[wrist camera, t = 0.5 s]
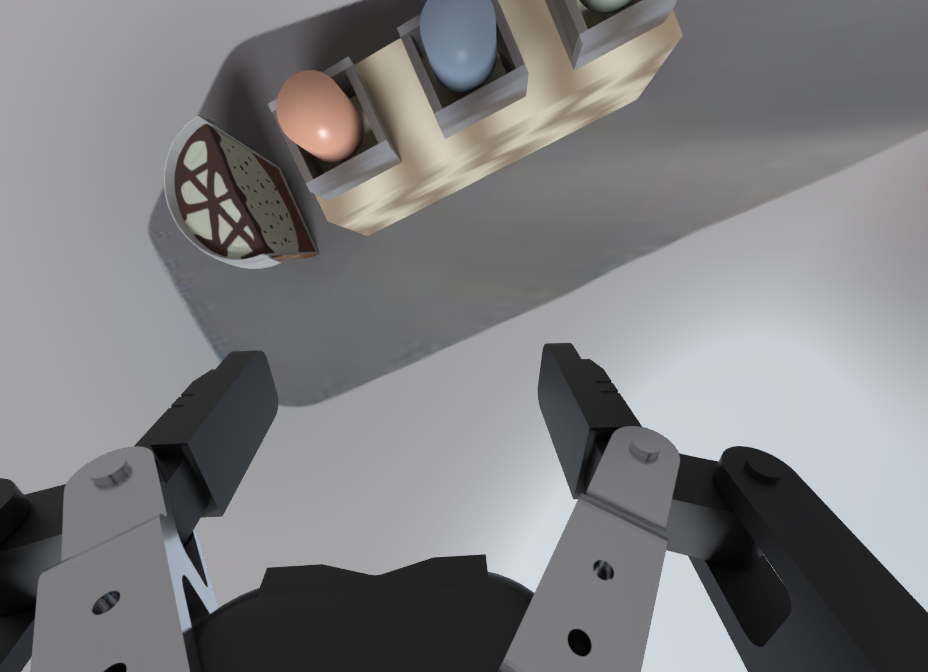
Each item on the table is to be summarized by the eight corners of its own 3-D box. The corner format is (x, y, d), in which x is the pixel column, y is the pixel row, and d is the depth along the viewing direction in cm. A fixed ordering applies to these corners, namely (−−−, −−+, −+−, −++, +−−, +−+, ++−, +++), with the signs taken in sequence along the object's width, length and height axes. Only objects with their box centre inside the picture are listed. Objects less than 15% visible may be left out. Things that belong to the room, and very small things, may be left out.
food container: (223, 180, 40) (129, 145, 30) (273, 153, 39) (194, 108, 29) (275, 291, 40) (201, 292, 31) (325, 267, 40) (266, 261, 30)
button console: (598, 2, 34) (648, -149, 22) (636, 99, 35) (706, 2, 23) (328, 152, 38) (249, 91, 26) (368, 236, 39) (308, 214, 27)
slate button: (479, 6, 25) (476, -35, 22) (507, 72, 25) (508, 41, 22) (419, 41, 25) (407, 6, 22) (447, 105, 26) (439, 79, 23)
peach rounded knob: (346, 83, 26) (324, 56, 23) (374, 144, 26) (357, 125, 23) (292, 115, 27) (264, 92, 24) (320, 174, 27) (296, 159, 24)
